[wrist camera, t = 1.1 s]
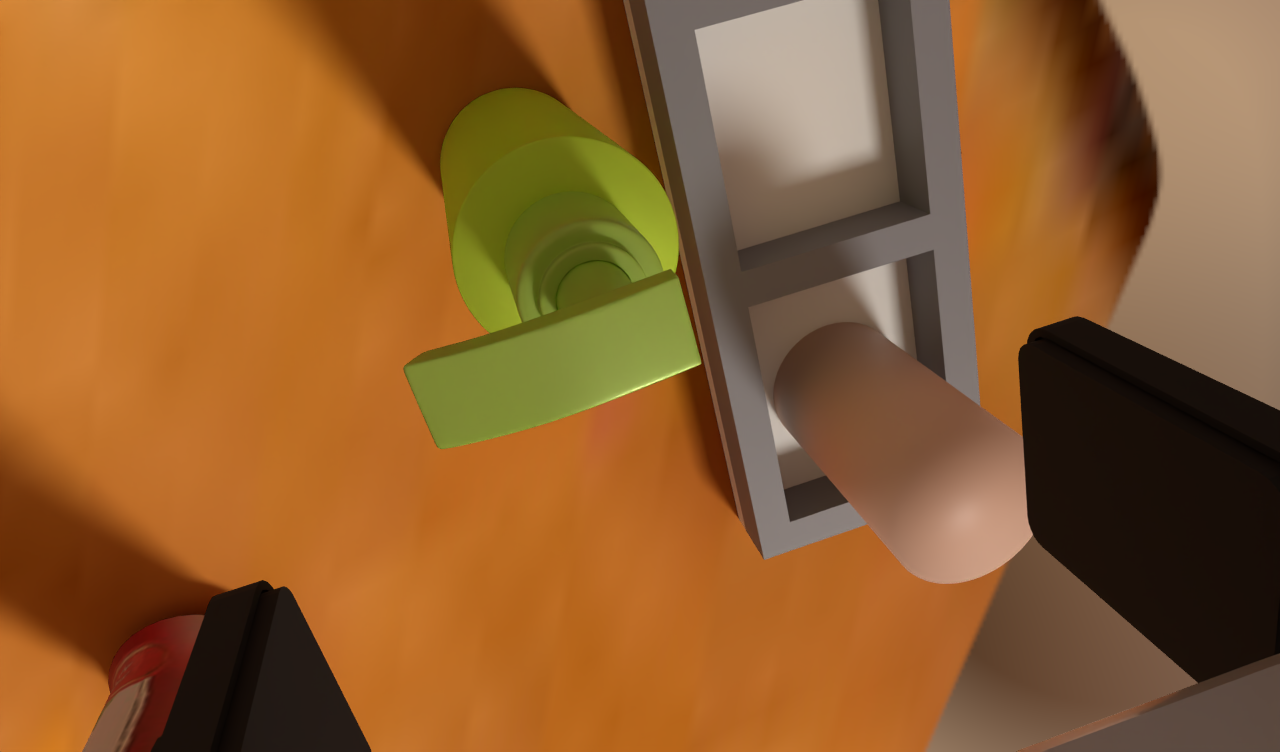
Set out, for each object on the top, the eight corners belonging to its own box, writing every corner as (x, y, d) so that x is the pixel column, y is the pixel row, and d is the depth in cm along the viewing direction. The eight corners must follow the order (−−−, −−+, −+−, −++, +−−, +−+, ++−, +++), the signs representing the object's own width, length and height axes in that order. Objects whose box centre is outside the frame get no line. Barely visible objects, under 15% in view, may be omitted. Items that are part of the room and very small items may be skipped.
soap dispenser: (389, 123, 33) (356, 273, 15) (566, 67, 34) (737, 147, 16) (446, 269, 36) (475, 546, 18) (610, 214, 36) (799, 427, 18)
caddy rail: (608, -64, 32) (704, -95, 22) (888, -136, 33) (1112, -200, 23) (738, 518, 43) (845, 691, 33) (946, 448, 45) (1114, 592, 34)
